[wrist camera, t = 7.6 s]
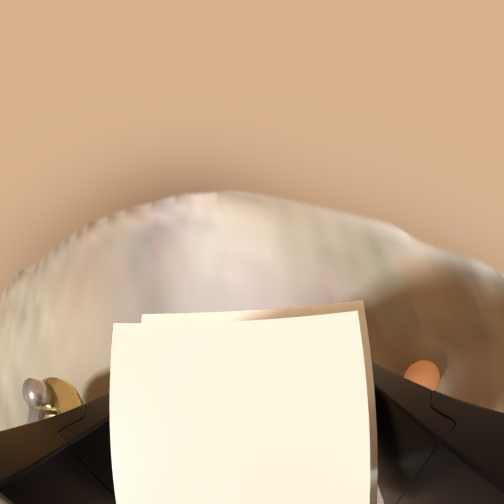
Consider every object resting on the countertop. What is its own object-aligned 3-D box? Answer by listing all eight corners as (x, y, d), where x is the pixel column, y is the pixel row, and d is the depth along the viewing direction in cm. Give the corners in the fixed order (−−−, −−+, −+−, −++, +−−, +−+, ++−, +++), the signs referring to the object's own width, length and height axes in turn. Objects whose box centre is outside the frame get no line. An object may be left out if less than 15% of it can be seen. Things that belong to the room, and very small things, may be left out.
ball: (435, 375, 19) (452, 371, 16) (415, 405, 18) (432, 405, 15) (410, 355, 20) (426, 349, 17) (390, 386, 19) (405, 384, 16)
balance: (131, 572, 11) (79, 611, 3) (82, 553, 12) (24, 578, 3) (109, 387, 21) (28, 372, 12) (61, 378, 22) (-16, 358, 13)
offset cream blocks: (325, 449, 13) (421, 563, 2) (221, 454, 13) (82, 553, 2) (319, 353, 15) (404, 241, 4) (218, 359, 16) (77, 268, 5)
